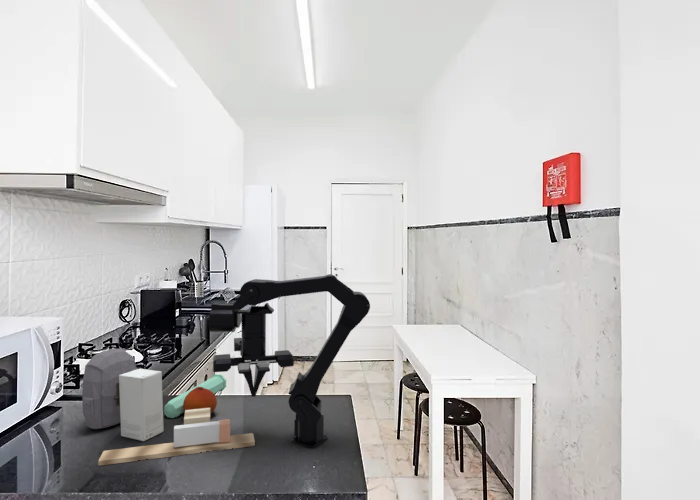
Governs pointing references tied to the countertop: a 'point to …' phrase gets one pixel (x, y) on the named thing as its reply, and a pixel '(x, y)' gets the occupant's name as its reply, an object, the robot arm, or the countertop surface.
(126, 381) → the skincare box
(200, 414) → the wooden block
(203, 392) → the fruit
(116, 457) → the plank
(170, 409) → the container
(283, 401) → the countertop surface
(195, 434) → the white and pink block
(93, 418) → the soft grey pack
